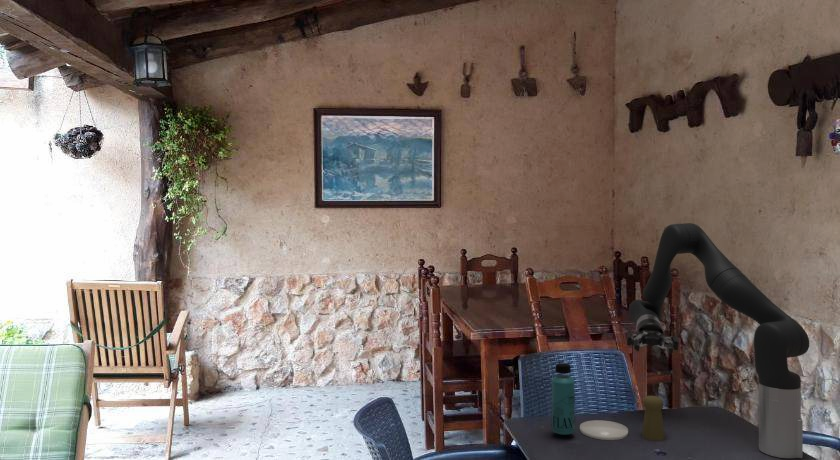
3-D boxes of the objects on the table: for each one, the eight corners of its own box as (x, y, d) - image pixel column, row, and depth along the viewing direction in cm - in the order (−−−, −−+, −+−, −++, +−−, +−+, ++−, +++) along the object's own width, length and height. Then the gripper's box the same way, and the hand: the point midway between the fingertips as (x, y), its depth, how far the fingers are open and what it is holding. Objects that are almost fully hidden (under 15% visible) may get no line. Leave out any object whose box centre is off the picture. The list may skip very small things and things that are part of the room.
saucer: (630, 426, 174) (630, 423, 174) (626, 442, 163) (626, 439, 162) (583, 421, 180) (583, 418, 180) (576, 436, 168) (576, 432, 168)
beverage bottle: (548, 438, 167) (547, 365, 166) (555, 430, 173) (554, 360, 172) (572, 441, 164) (571, 368, 163) (578, 433, 170) (577, 362, 169)
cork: (667, 441, 163) (667, 400, 163) (643, 439, 164) (643, 399, 164) (663, 433, 169) (662, 393, 169) (640, 432, 170) (639, 393, 170)
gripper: (626, 316, 190) (628, 335, 175) (675, 320, 186) (681, 340, 171) (624, 338, 192) (626, 359, 176) (673, 343, 188) (679, 364, 173)
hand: (654, 349), depth 174 cm, fingers open, 8 cm apart
